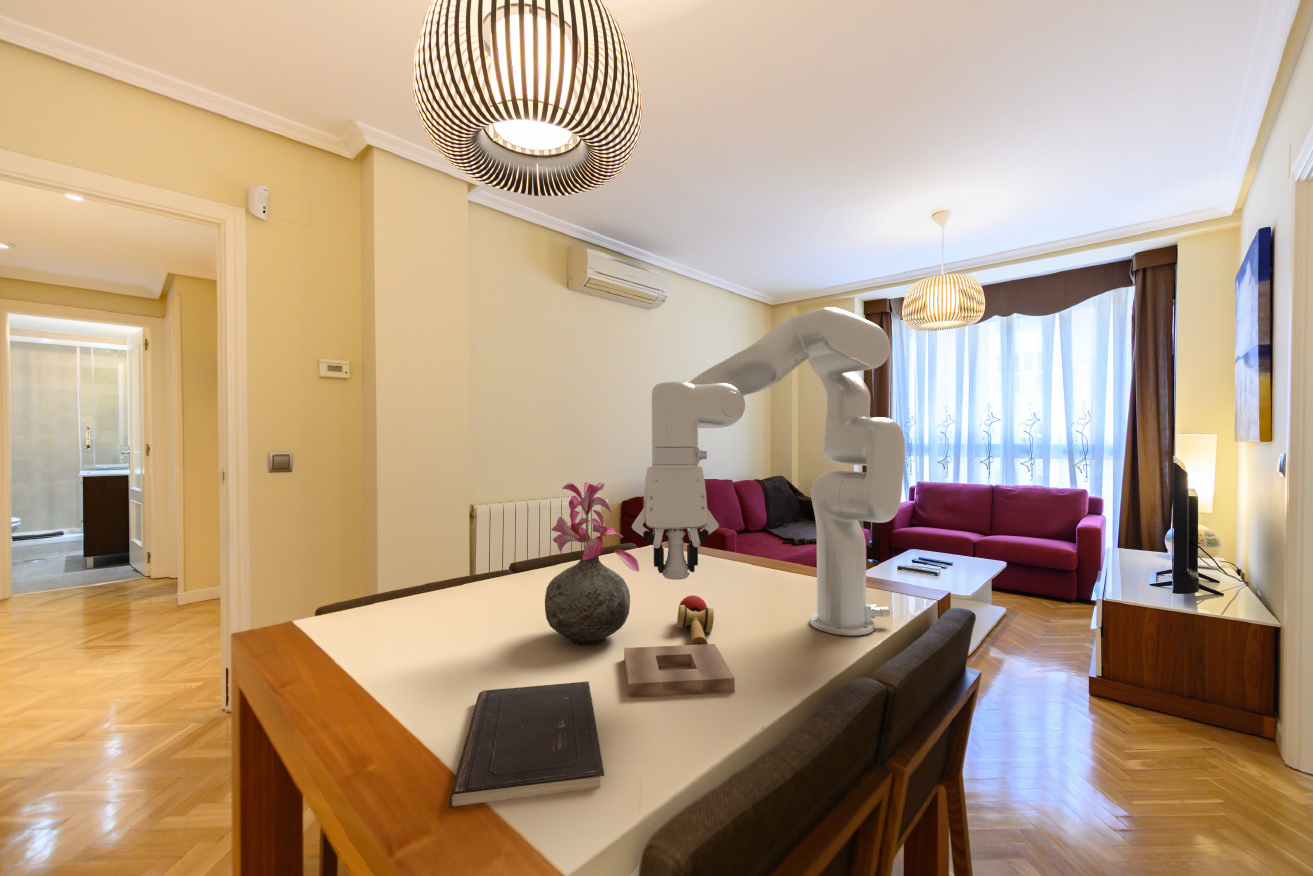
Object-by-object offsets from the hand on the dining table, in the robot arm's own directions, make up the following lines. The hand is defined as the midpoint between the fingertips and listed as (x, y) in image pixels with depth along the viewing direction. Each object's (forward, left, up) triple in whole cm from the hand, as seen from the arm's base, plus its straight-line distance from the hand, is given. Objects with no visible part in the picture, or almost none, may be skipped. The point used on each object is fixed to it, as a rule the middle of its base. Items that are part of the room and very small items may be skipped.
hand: (675, 569), depth 88 cm
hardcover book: (+21, +17, -18) cm, 32 cm away
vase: (+14, -18, -17) cm, 29 cm away
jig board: (0, 0, -17) cm, 17 cm away
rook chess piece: (0, 0, -1) cm, 1 cm away
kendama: (-6, -18, -17) cm, 26 cm away
